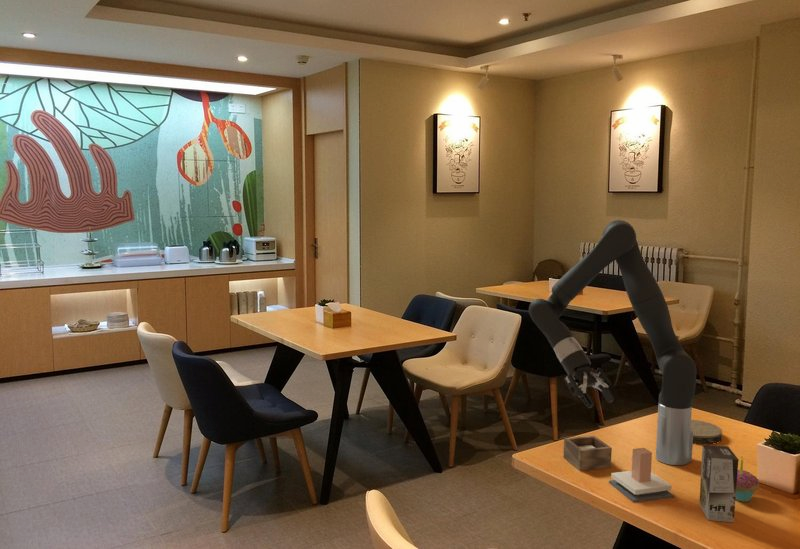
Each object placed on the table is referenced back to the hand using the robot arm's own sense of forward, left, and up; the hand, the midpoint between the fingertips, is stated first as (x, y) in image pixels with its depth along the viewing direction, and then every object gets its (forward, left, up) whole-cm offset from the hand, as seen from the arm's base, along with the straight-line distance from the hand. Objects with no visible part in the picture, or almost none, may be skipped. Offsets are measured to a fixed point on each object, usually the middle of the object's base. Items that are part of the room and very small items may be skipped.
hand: (601, 404), depth 191 cm
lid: (-5, +12, -20) cm, 24 cm away
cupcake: (-28, +23, -21) cm, 42 cm away
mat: (-5, +13, -20) cm, 24 cm away
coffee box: (-16, +29, -21) cm, 39 cm away
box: (0, -7, -20) cm, 22 cm away
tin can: (-46, -19, -21) cm, 54 cm away
